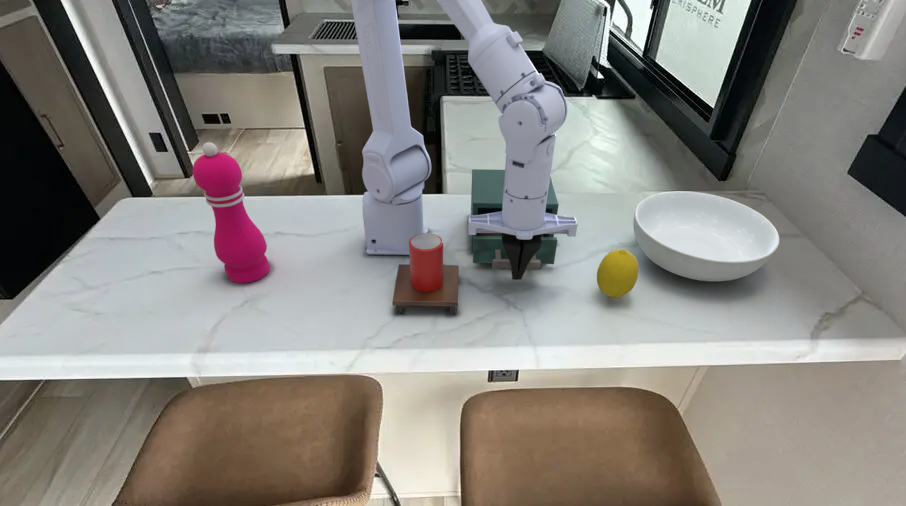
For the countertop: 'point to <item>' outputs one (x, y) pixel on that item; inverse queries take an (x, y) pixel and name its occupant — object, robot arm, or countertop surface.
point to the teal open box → (498, 195)
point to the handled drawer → (492, 251)
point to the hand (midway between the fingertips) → (516, 276)
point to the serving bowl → (703, 235)
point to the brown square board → (413, 297)
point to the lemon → (617, 273)
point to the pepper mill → (231, 216)
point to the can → (426, 262)
